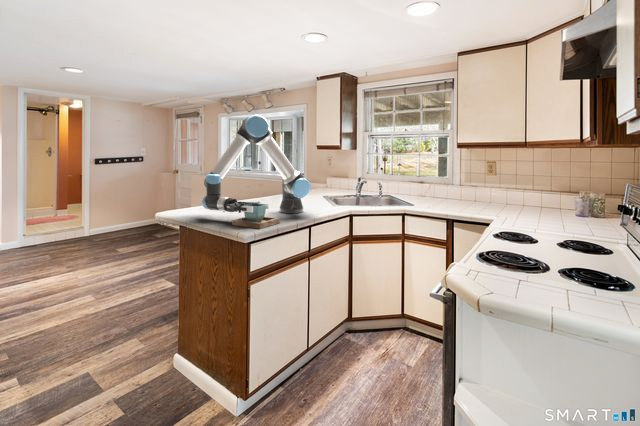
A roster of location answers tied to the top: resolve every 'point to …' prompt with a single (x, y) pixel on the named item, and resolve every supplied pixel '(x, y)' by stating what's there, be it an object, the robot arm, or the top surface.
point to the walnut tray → (264, 223)
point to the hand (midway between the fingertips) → (260, 208)
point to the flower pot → (255, 212)
